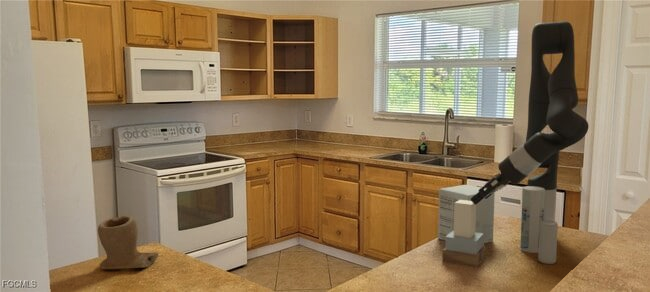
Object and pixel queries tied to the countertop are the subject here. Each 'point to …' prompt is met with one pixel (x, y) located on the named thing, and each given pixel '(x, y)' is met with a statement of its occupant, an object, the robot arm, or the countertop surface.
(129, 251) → the stone cup
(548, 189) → the robot arm
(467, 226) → the cream block
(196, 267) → the countertop surface
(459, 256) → the walnut base block
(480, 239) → the slate-blue top block
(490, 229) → the supplement box
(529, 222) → the spray can
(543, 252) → the beverage can
